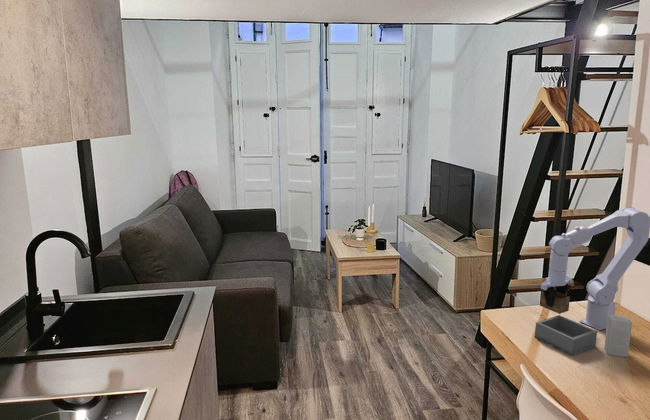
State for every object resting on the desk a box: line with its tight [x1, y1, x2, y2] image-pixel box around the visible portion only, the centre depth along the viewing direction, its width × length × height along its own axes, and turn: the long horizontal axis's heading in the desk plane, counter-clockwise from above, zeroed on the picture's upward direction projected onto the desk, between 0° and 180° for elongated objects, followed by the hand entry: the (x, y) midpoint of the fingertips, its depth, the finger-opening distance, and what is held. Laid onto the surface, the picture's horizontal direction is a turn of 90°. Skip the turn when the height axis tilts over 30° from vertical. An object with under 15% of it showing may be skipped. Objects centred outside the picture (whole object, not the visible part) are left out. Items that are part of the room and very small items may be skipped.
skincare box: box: [603, 315, 633, 358], centre depth 150 cm, size 6×4×12 cm
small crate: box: [539, 291, 571, 315], centre depth 172 cm, size 5×8×6 cm, turn 27°
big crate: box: [534, 314, 598, 356], centre depth 158 cm, size 12×14×6 cm
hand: (554, 304), depth 172 cm, fingers closed on small crate, 5 cm apart
